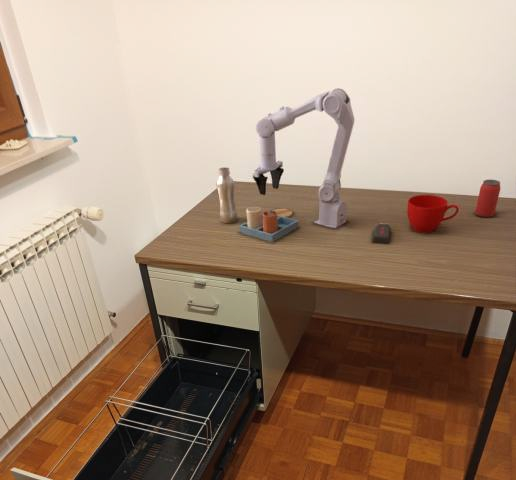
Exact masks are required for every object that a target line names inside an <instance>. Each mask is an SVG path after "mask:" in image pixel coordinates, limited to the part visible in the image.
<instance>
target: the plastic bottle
mask: <svg viewBox="0 0 516 480" xmlns="http://www.w3.org/2000/svg"><path fill="white" fill-rule="evenodd" d="M218 172H219V173H218V176H219V177H218V178H217V180H216V190H217V193H218V198H219V219H220V221H221V222H222V223H224V224H234V223H235V222H236V221H237V220H238V212H237V209H236V204H235V182H234V179H233V178H232V177H231V176H230V174H231V172H230V168H229V167H220V168H219V169H218Z"/></svg>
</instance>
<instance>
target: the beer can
mask: <svg viewBox="0 0 516 480" xmlns="http://www.w3.org/2000/svg"><path fill="white" fill-rule="evenodd" d="M500 192H501V181H499V180H497V179H485V180H483V183H482V184H481V186H480V188H479V193H478V197H477V202H476V206H475V210H474V213H475V215H476V216H478V217H481V218H491V217H493V216H495V213H496V209H497V205H498V201H499V196H500Z"/></svg>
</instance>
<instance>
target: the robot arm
mask: <svg viewBox="0 0 516 480" xmlns="http://www.w3.org/2000/svg"><path fill="white" fill-rule="evenodd" d="M313 111H318V112H320V113H322V112H323V111H324V112H325V113H326V114H327V115H328V116H329V117H331V118H332V119H333V120H334V121H335V123H336V125H337V129H336V134H335V138H334V141H333V145H332V150H331V154H330V158H329V162H328V166H327V170H326V173H325V176H324V178H323V181H322V184H321V185H320V187H319V188H318V191H317V195H318V219H316V220H315V221H314V222H313V223H314V224H317V225H321V226H325V227H328V228H334V229H337V228H338V227H341V226H342V225H344V224H345V223H347V219H346V218H347V204H346V202H345V201H343V200H341V199H340V195H339V192H340V190H341V187H342V183H341V177H342V170H343V166H344V162H345V160H346V159H345V158H346V154H347V151H348V147H349V145H350V144H349V143H350V139H351V136H352V133H353V128H354V124H355V116H354V112H353V109H352V104H351V98H350V96H349V95H348V93H347V92H346V91H345V90H344V89H343V88H334V89H333V90H331V91H329V90H328V91H326V92H323V93H320V94H318V95H316V96H314V97H312V98H310V99H308V100H306V101H304V102H302V103H301V104H298V105H297V106H295V107H293V108H291V107H289V106H281V107H279V109H278V110H276V111H275V112H273V113H271V112H270V113H268V114H267V116H264V117H262V118H260V119H259V121H258V122H257V123H256V124H255V125H256V126H255V131H256V134H257V135H258V146H259V147H258V148H259V165H258V167H257V168H256V169H255V170H253V173H252V179H253V180H254V182H255V183H256V186H257V189H258V192H259V194H260V195H262V196H265V195H267V194H266V193H267V182H268V179H269V178H268V176H265V175H264V174H267V173H269V174H270V177H271V186H272V189H274V190H278V189H279V187H280V182H281V178H282V176H283V174H284V170H285V169H284V168H283V167H284V165H283V161H282V160H277V155H276V154H277V153H276V152H277V151H276V132H279V131H281V130H283V129H285V128H287V127H290V126H291V125H294V123H295V121H296V119H297V118H299V117H302V116H304V115H306V114H308V113H311V112H313Z"/></svg>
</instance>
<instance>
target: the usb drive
mask: <svg viewBox="0 0 516 480" xmlns="http://www.w3.org/2000/svg"><path fill="white" fill-rule="evenodd" d="M391 229H392V228H391V226H390V224H389V223H378V224H376V226H375V227H374V231H373V237H372V243H376V244H377V243H378V244H389V243H390V237H391Z"/></svg>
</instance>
